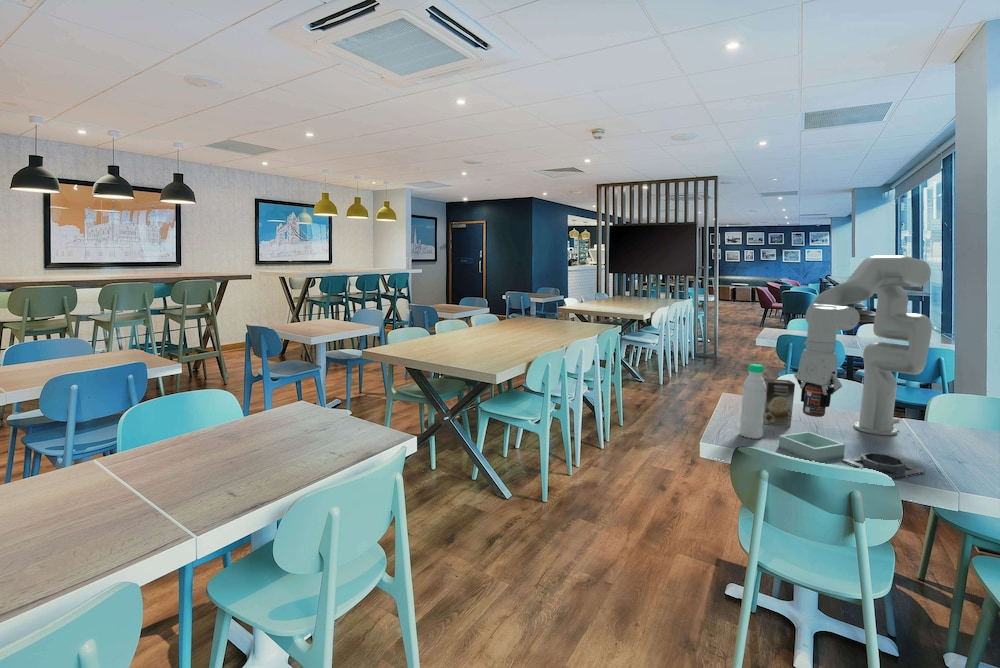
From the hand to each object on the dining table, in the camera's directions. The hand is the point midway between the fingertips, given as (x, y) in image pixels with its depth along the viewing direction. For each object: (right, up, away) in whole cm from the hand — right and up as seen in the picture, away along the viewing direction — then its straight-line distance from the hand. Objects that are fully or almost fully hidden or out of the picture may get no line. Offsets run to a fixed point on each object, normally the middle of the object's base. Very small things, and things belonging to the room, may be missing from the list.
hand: (814, 403), depth 161 cm
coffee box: (+4, -12, +31) cm, 34 cm away
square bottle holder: (+14, -17, -10) cm, 24 cm away
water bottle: (-12, -14, +17) cm, 25 cm away
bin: (0, -16, +2) cm, 16 cm away
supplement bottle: (0, -4, +1) cm, 4 cm away
